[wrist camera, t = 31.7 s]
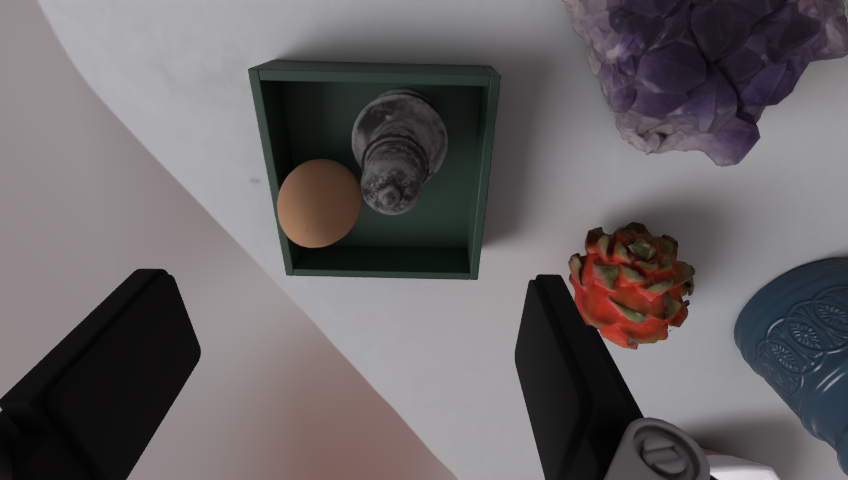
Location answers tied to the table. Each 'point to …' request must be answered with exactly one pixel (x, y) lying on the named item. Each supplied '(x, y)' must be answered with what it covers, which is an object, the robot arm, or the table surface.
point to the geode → (703, 65)
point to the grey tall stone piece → (398, 148)
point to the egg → (319, 203)
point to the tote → (332, 139)
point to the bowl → (737, 468)
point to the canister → (804, 346)
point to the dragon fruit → (631, 285)
